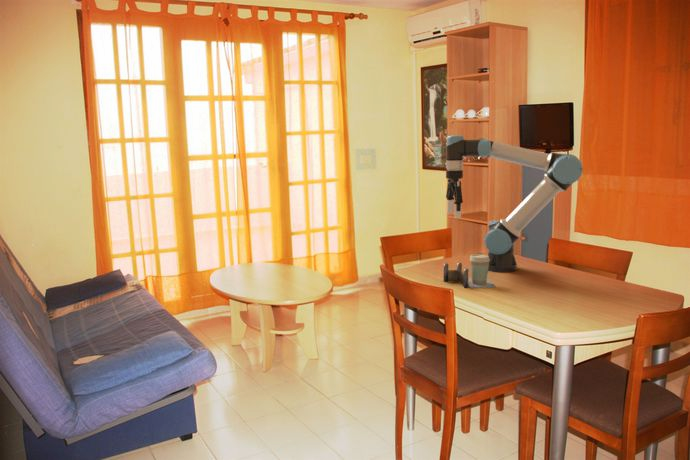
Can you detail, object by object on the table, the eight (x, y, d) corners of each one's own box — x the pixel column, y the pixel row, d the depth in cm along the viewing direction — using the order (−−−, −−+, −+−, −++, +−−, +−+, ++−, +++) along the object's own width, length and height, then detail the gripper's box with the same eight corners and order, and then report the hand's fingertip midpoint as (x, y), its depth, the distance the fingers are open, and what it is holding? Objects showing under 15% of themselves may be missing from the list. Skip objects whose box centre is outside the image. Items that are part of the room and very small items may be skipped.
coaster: (488, 280, 263) (488, 279, 262) (495, 287, 252) (495, 286, 252) (463, 281, 262) (463, 280, 262) (470, 288, 251) (470, 286, 251)
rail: (460, 280, 264) (461, 262, 263) (468, 288, 252) (469, 269, 250) (443, 280, 264) (443, 263, 263) (450, 288, 251) (450, 270, 250)
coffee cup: (488, 280, 261) (488, 253, 258) (490, 285, 252) (491, 258, 250) (468, 280, 261) (468, 253, 259) (470, 285, 253) (470, 258, 251)
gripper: (439, 168, 282) (439, 212, 286) (453, 171, 258) (452, 220, 262) (455, 167, 283) (454, 211, 287) (470, 171, 258) (469, 219, 262)
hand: (453, 216), depth 274 cm, fingers open, 13 cm apart
